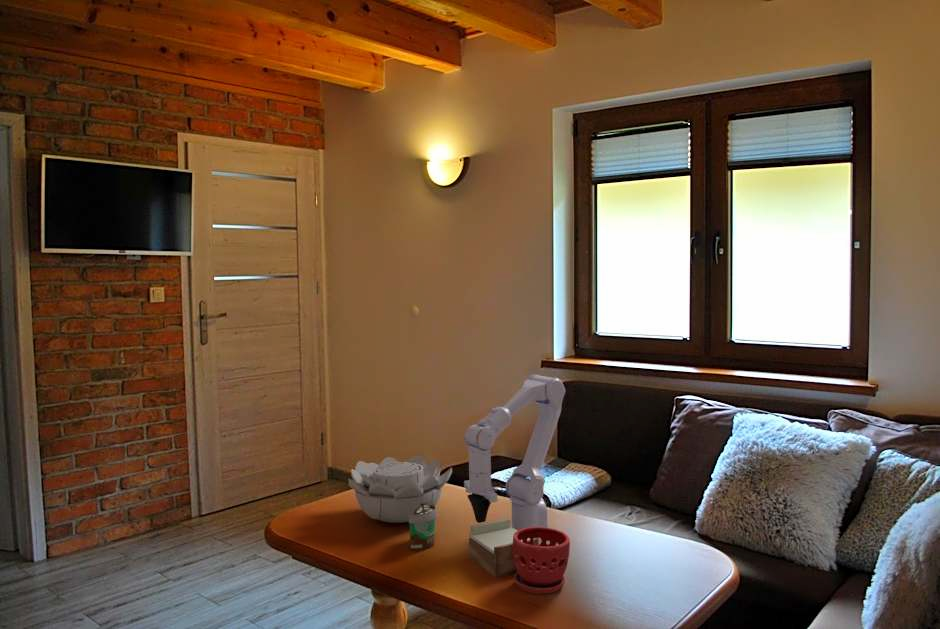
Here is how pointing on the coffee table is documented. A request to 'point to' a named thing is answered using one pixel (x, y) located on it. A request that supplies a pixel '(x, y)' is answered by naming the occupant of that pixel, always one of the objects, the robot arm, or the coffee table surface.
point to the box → (495, 558)
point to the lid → (493, 534)
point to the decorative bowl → (397, 487)
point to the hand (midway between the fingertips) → (480, 521)
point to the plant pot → (540, 559)
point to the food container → (423, 526)
